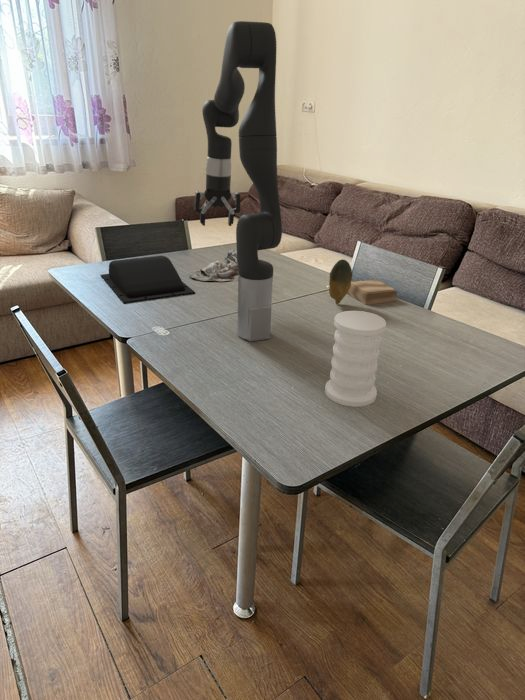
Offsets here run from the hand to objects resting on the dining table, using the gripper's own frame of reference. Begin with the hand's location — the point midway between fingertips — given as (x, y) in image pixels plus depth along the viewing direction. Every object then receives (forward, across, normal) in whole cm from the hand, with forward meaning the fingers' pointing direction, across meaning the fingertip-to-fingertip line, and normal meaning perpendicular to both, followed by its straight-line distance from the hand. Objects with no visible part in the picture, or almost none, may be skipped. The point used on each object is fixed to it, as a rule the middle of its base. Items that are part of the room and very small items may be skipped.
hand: (216, 225), depth 164 cm
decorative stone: (+20, +38, -19) cm, 47 cm away
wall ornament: (+25, +8, +18) cm, 31 cm away
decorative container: (+16, +20, -73) cm, 77 cm away
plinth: (+20, +52, -14) cm, 57 cm away
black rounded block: (+25, -22, +8) cm, 34 cm away
